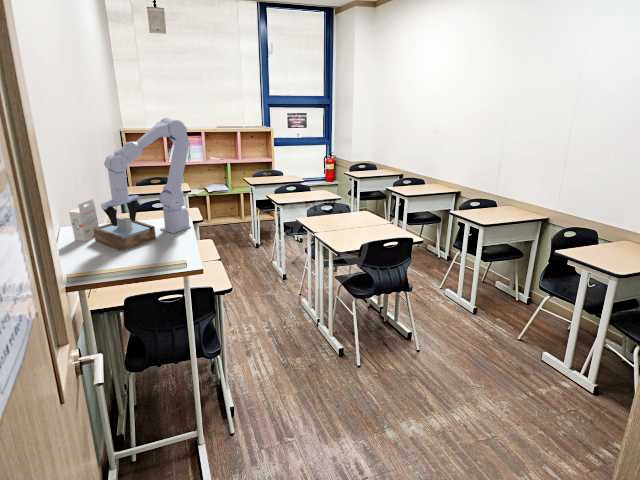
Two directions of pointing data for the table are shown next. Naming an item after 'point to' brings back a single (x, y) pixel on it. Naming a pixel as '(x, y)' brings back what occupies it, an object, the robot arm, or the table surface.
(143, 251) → the table surface
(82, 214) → the ink cartridge box
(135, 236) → the walnut box
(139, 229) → the cover plate
